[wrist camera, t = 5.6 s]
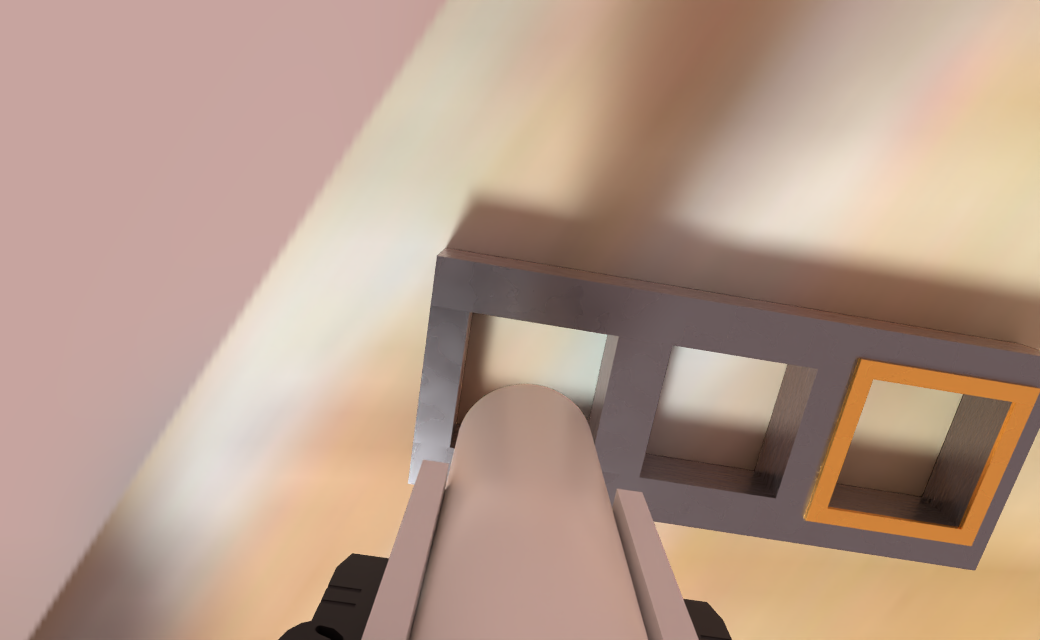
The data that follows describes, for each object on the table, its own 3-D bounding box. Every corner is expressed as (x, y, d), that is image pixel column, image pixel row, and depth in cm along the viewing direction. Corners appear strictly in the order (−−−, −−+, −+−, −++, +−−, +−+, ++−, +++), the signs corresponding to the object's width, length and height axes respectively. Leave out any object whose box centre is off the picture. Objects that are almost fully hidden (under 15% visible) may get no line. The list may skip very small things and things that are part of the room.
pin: (448, 496, 21) (280, 1241, 6) (467, 373, 20) (311, 947, 5) (578, 516, 21) (708, 1282, 6) (605, 395, 20) (841, 1009, 5)
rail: (418, 457, 28) (407, 486, 26) (445, 247, 26) (436, 256, 23) (938, 537, 29) (978, 573, 27) (1020, 343, 27) (1074, 362, 24)
